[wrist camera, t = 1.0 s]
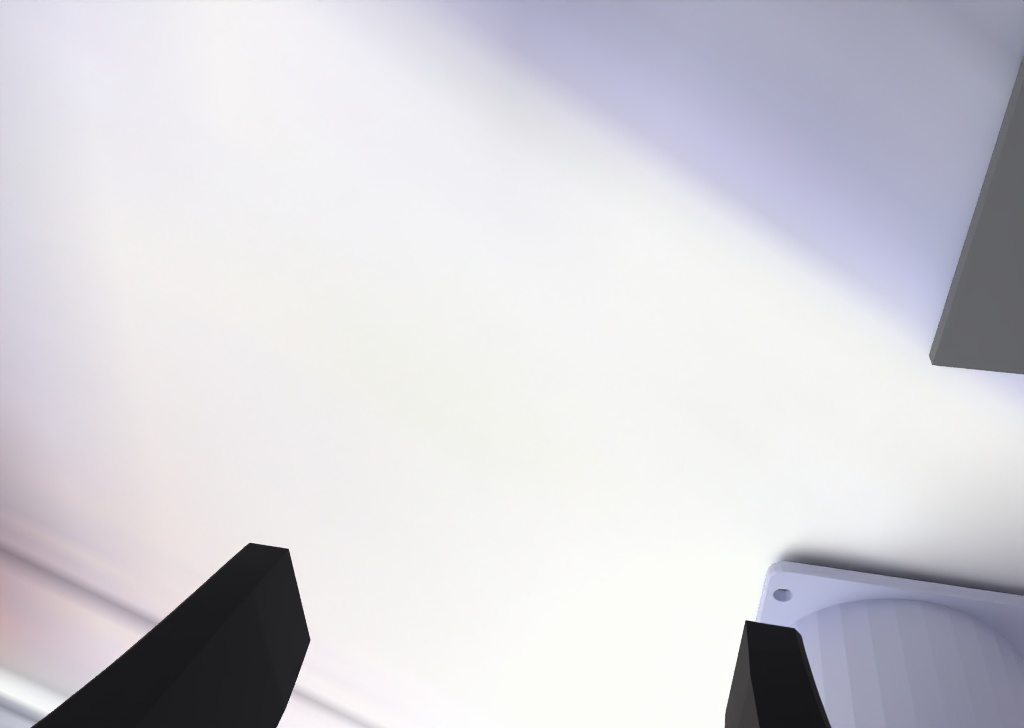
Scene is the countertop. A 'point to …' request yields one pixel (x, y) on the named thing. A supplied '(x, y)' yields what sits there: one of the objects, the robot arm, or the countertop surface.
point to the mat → (991, 264)
